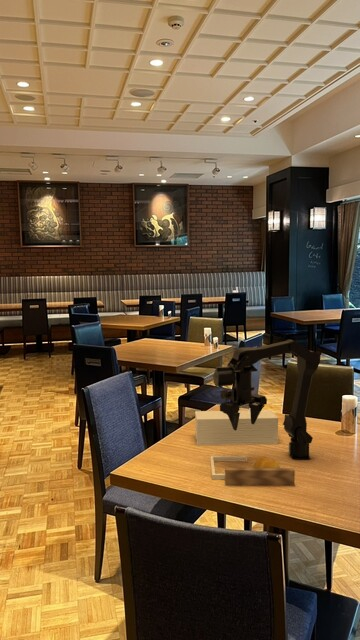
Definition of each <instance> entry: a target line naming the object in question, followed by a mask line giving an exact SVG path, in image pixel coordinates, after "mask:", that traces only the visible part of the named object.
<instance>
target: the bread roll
mask: <svg viewBox="0 0 360 640" xmlns="http://www.w3.org/2000/svg"><path fill="white" fill-rule="evenodd" d="M252 466H253V467H252V468H280V467H281V466H280V464H279V462H278V461H276V460H273V459H272V460H271V459H270V458H268V457H266V456H261V457H258V458H256V460H255V461H254V462H253V463H252Z"/></svg>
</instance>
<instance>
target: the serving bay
mask: <svg viewBox="0 0 360 640" xmlns="http://www.w3.org/2000/svg"><path fill="white" fill-rule="evenodd" d="M209 459H210V461H209V462H210V471H211V479H212V480H225V473H216V472H215V471H216V470H215V462H248V457H247V455H245V456H244V455H237V456H236V455H210V458H209Z"/></svg>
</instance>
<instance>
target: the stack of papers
mask: <svg viewBox="0 0 360 640" xmlns="http://www.w3.org/2000/svg"><path fill="white" fill-rule="evenodd" d="M238 413H240V416H239V421H238V426H237V430H236V431H235V430H233V427H232V424H231V422H230V419H229V417H228V415H227V414H225V413H223V412H222V411H220V410H202V411H201V410H196V411H195V412H194V415H195V416H194V420H195V421H194V423H195V424H194V427H195V428H194V429H195V430H194V436H195V437H194V438H195V442H196V446H226V445H227V446H228V445H229V446H235V445H237V446H238V445H241V444H242V445H243V444H244V445H278V444H279V417H278V416H277V414H276V413H275V412H274V411H273V409H267V410H266V409H265V410H263V409H262V410H261V412H260V414H259V416H258V418H257V420H256V422H255V424H251V414H250V410H249V409H248V410H239V412H238ZM244 445H243V446H244Z"/></svg>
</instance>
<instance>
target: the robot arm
mask: <svg viewBox="0 0 360 640" xmlns="http://www.w3.org/2000/svg"><path fill="white" fill-rule="evenodd" d="M288 353H289V354H292V356H294V357H295V358H296V367H297V371H298V375H297V376H298V377H297V381H296V387H295V391H294V397H293V402H292V407H291V411H290V412H289V414H284V418H283V419H284V421H283V423H282V425H283V430H284V431H285V432H286V433H287V435H288V437H289V438H290V442H288V454H289V456H290V458H291V459H293V460H310V459H311V457H310V444H311V443H312V441H313V436H312V435H311V434H310V433H308V432H307V429H308V428H307V427H308V424H307V419H306V410H307V405H308V399H309V395H310V394H309V393H310V389H311V385H312V380H313V379H312V378H313V376H314V374H315V373H316V372H317V371H318V368H319V365H320V363H321V356H320V355H319V353H318V352H316V351H312V350H311V349H310V350H309V349H308V348H306V347H304V346H303V345H301V344H300V343H298V341H295V340H292V339H286V340H285V341H280V342H275V343H271V344H268V345H262V346H258V347H257V346H256V347H252V346H251V347H249V346H247V347H238V348H236V349H235V350H234V352H233V354H232V357H231V359H230V360H229V362H228V364H227V365H226V366H215V368H214V369H215V370H214V372H213V375H212V376H213V378H212V379H213V383H214V386H215V387H217V388H218V387H226V386H227V387H228V386H233V385H235V386H233V387H232V389H231V390H230V391H229V390H228V389H226V388H225V389H223V390H220V399H221V400H224V402H221V403H220V404H219V411H222V412H223V413H225V414H227V415H228V417H229V419H230V422H231V424H232V427H233V430H235V431H236V430H237V426H238V421H239V416H240V413H238V412H239V411H240V409H241V408H243V407H246V406H248V407H249V409H250V414H251V424H255V422H256V420H257V418H258V416H259V414H260V412H261V410H263V408H264V407H265V405H267V404H268V398H267V397H266V396H265V395H262V394H259V393H253V392H252V391H255V386H253V383H252V382H253V381H252V380H253V379H252V377H253V376H252V374H253V373H252V372H258V369H257V368H256V367H255V365H254V364H256V363H258V362H259V361H261V360H264V359H267V358H271V357H275V356H279V355H285V354H288ZM230 400H231V401H230Z"/></svg>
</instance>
